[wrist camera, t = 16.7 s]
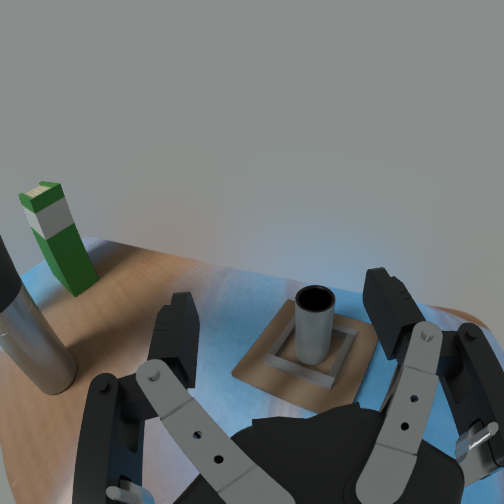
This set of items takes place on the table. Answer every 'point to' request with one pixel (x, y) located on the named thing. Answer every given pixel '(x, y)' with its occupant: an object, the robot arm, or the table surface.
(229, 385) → the table surface
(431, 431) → the table surface
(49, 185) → the hardback book
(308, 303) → the grey cylinder
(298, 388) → the base
